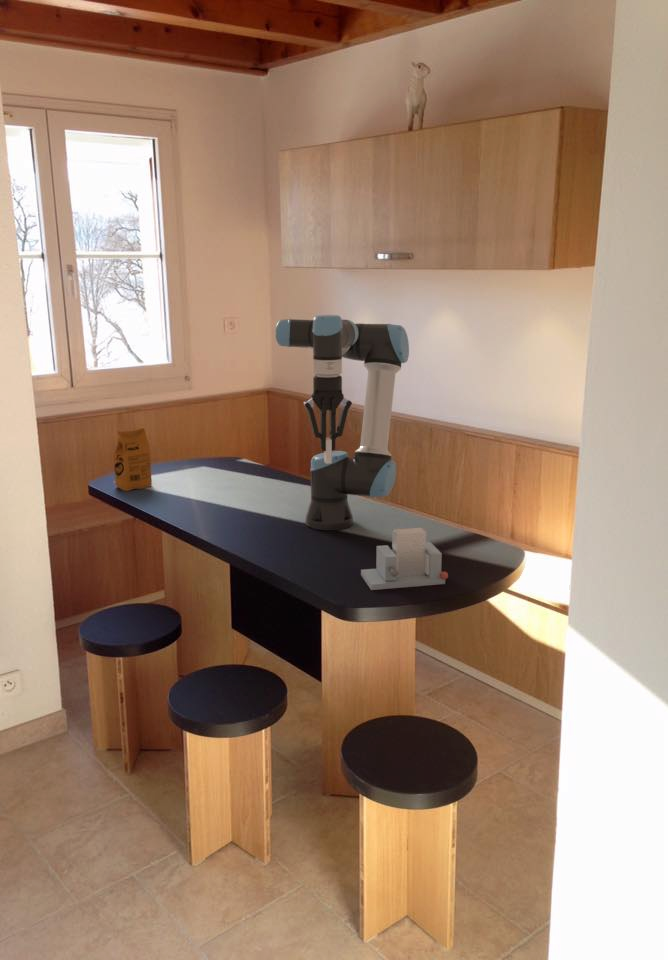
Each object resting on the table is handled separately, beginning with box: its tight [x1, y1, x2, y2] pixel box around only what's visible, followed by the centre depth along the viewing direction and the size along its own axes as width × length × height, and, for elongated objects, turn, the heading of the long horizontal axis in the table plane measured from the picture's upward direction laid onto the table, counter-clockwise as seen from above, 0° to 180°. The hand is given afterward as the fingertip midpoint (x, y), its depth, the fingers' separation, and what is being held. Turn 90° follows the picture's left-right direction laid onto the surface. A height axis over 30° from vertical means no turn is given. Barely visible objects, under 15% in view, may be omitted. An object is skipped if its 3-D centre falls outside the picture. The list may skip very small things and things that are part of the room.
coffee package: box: [113, 426, 153, 492], centre depth 316 cm, size 10×12×22 cm
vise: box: [360, 540, 449, 591], centre depth 226 cm, size 12×21×8 cm, turn 102°
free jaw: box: [375, 544, 398, 581], centre depth 224 cm, size 13×4×6 cm, turn 12°
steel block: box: [391, 527, 427, 578], centre depth 226 cm, size 4×8×12 cm, turn 102°
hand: (327, 462), depth 231 cm, fingers closed
